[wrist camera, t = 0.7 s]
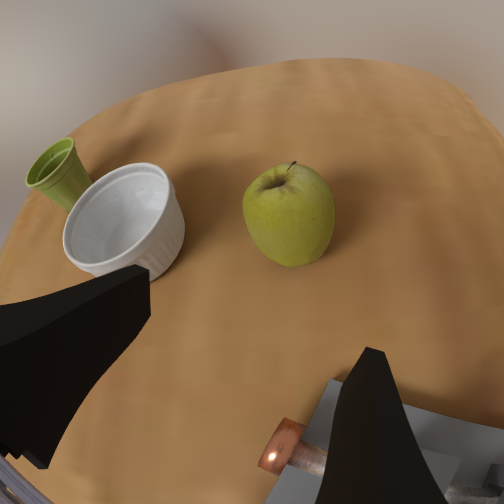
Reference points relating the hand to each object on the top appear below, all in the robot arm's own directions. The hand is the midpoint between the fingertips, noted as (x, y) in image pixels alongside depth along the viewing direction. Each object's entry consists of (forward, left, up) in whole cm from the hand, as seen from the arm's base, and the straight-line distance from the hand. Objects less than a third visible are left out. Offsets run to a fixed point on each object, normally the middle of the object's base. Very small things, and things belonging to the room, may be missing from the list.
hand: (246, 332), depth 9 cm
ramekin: (+7, +21, -17) cm, 28 cm away
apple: (+13, +5, -17) cm, 22 cm away
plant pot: (+10, +39, -17) cm, 44 cm away
